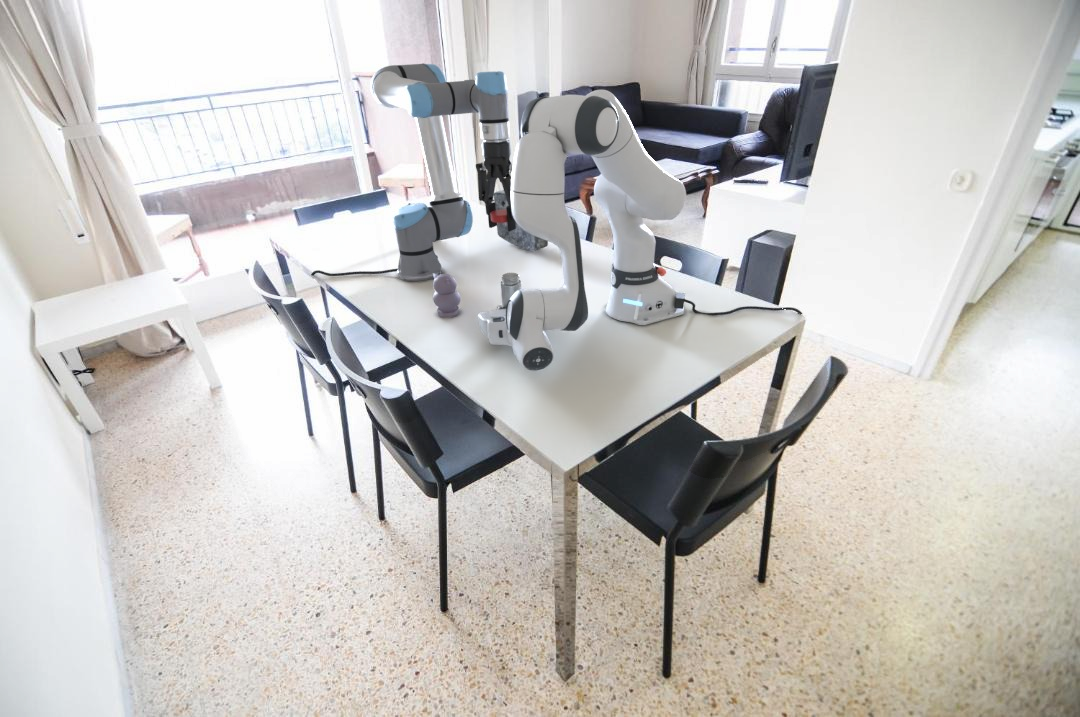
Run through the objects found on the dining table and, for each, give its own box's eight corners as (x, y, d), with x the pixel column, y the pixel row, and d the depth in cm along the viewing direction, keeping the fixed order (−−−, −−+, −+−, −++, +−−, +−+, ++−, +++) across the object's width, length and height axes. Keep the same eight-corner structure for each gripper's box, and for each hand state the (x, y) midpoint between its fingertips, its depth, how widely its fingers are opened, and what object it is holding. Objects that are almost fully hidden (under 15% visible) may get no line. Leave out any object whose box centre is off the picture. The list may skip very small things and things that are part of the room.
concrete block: (553, 252, 189) (552, 199, 179) (534, 258, 185) (532, 204, 175) (514, 236, 208) (511, 187, 198) (496, 241, 204) (492, 191, 193)
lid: (517, 218, 140) (516, 211, 139) (502, 224, 136) (501, 216, 135) (501, 215, 143) (500, 208, 142) (486, 220, 139) (485, 213, 138)
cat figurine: (468, 312, 148) (463, 274, 142) (447, 321, 143) (441, 282, 137) (450, 304, 153) (445, 267, 147) (429, 313, 148) (423, 275, 142)
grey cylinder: (500, 330, 138) (496, 277, 130) (511, 322, 142) (507, 270, 133) (516, 334, 135) (513, 281, 127) (527, 326, 139) (524, 273, 131)
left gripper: (458, 140, 131) (468, 227, 143) (516, 144, 121) (521, 236, 133) (477, 136, 136) (485, 220, 148) (534, 139, 127) (537, 229, 139)
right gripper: (562, 311, 125) (548, 290, 136) (481, 323, 121) (474, 300, 132) (562, 333, 128) (548, 310, 139) (484, 345, 124) (476, 321, 135)
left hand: (502, 228), depth 141 cm, fingers closed on lid, 6 cm apart
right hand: (511, 305), depth 136 cm, fingers closed on grey cylinder, 5 cm apart
